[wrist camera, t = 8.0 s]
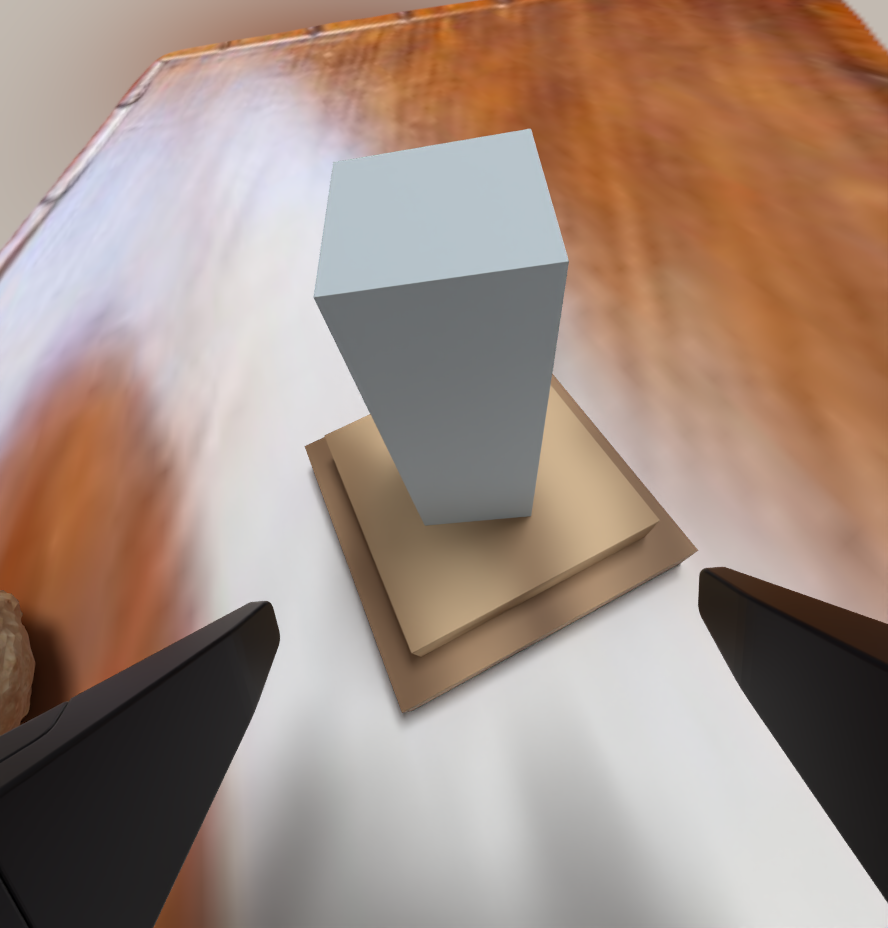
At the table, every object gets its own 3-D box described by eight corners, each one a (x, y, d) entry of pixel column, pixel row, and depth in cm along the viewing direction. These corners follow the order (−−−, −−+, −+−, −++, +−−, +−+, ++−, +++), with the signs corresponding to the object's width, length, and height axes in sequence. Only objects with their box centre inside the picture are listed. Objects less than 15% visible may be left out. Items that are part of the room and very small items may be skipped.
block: (531, 516, 18) (568, 261, 7) (424, 525, 18) (313, 297, 8) (517, 426, 20) (530, 128, 9) (422, 436, 20) (333, 162, 10)
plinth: (411, 710, 18) (390, 715, 15) (318, 463, 25) (288, 426, 22) (681, 562, 20) (718, 535, 16) (525, 366, 26) (528, 316, 23)
